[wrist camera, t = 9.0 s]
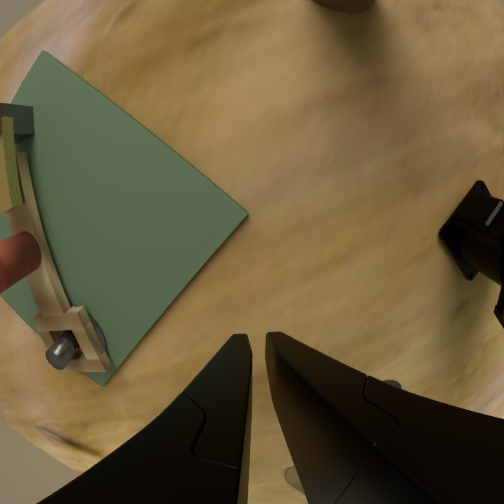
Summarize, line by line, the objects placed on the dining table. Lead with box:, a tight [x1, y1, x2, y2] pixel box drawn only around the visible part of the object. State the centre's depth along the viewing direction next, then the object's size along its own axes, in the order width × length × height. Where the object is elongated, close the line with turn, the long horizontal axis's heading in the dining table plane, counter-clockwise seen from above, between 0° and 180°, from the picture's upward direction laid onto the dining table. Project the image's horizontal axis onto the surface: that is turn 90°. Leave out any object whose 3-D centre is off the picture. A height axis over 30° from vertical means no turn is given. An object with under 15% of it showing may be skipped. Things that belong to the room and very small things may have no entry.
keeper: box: [0, 103, 35, 213], centre depth 15 cm, size 8×3×5 cm, turn 8°
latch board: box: [0, 51, 248, 387], centre depth 19 cm, size 22×22×1 cm
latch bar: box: [0, 152, 111, 372], centre depth 15 cm, size 19×6×9 cm, turn 11°
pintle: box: [46, 303, 107, 370], centre depth 20 cm, size 6×6×5 cm
